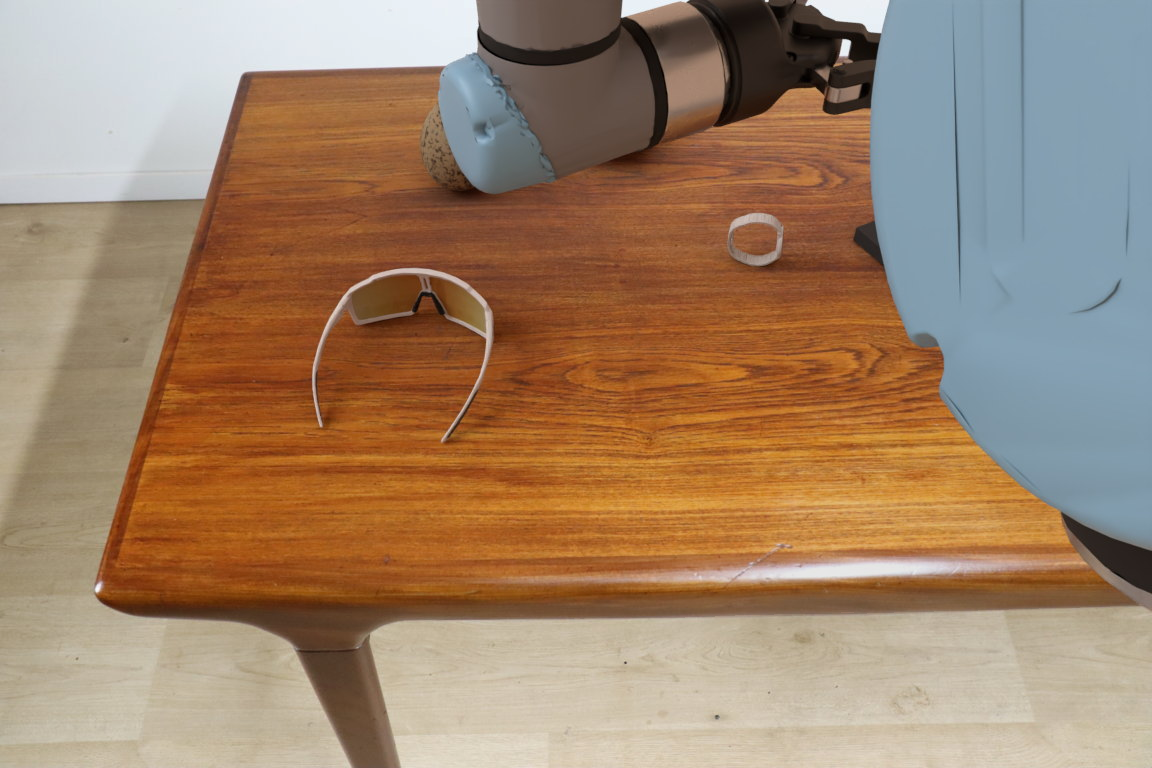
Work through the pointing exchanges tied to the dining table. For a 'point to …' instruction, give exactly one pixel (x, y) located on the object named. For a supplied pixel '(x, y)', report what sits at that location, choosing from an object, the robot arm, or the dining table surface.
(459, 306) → the sunglasses
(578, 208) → the dining table surface
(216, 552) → the dining table surface
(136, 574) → the dining table surface
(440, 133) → the decorative egg
